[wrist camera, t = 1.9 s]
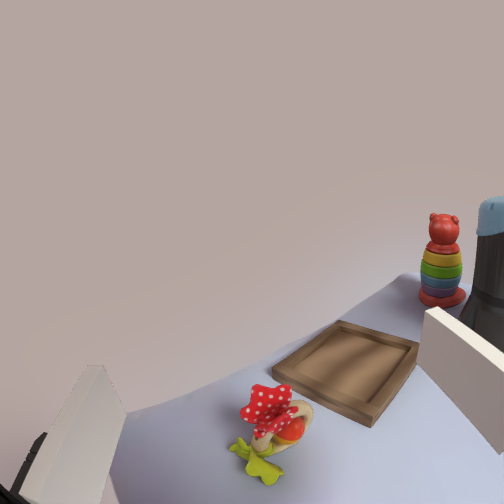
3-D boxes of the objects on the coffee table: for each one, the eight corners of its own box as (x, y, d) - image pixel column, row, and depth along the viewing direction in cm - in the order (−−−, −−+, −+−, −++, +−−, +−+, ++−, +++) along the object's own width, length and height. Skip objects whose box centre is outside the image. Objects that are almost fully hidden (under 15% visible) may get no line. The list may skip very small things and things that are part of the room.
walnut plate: (421, 355, 35) (424, 344, 34) (370, 428, 25) (373, 416, 25) (338, 330, 47) (338, 319, 46) (273, 379, 37) (271, 367, 37)
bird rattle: (273, 439, 29) (210, 460, 23) (295, 360, 29) (227, 372, 23) (312, 464, 24) (250, 497, 18) (343, 382, 24) (279, 407, 18)
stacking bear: (467, 296, 47) (475, 213, 42) (450, 314, 43) (459, 220, 38) (429, 284, 56) (432, 208, 52) (407, 299, 52) (410, 214, 48)
